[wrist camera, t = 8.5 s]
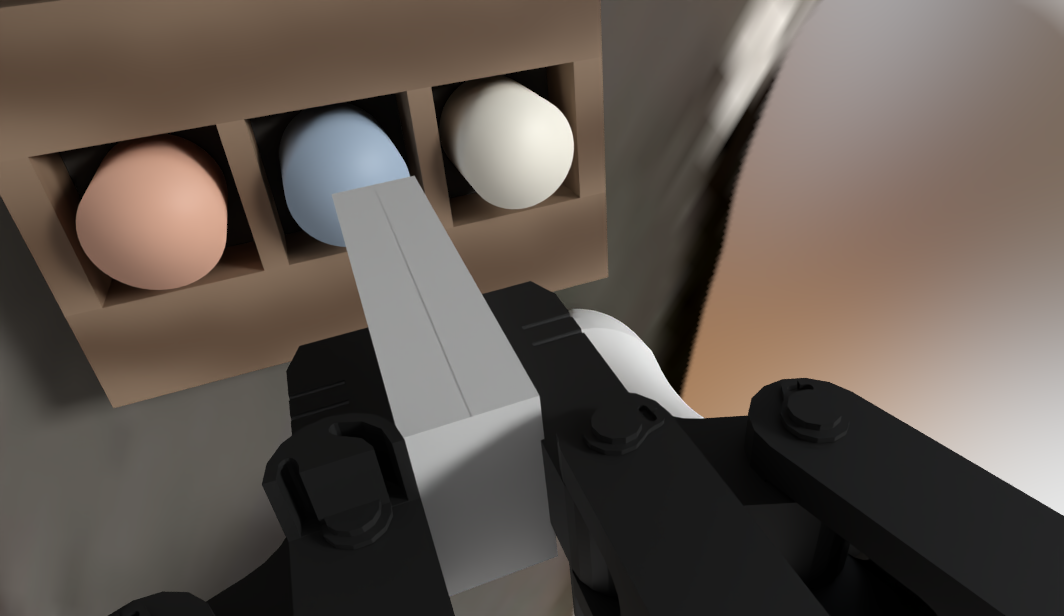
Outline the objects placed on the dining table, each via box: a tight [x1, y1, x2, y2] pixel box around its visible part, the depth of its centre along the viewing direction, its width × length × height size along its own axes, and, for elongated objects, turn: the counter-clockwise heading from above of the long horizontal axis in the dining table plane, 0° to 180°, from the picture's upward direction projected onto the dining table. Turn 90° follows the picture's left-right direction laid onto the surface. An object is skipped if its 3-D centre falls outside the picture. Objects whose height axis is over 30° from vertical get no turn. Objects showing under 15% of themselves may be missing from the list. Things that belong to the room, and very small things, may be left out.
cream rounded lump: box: [439, 75, 574, 209], centre depth 28 cm, size 4×4×4 cm
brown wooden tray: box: [0, 0, 608, 408], centre depth 26 cm, size 14×21×3 cm, turn 97°
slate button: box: [279, 102, 410, 247], centre depth 26 cm, size 4×4×4 cm
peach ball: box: [76, 134, 228, 290], centre depth 24 cm, size 4×4×4 cm
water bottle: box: [568, 309, 703, 419], centre depth 27 cm, size 7×7×25 cm
